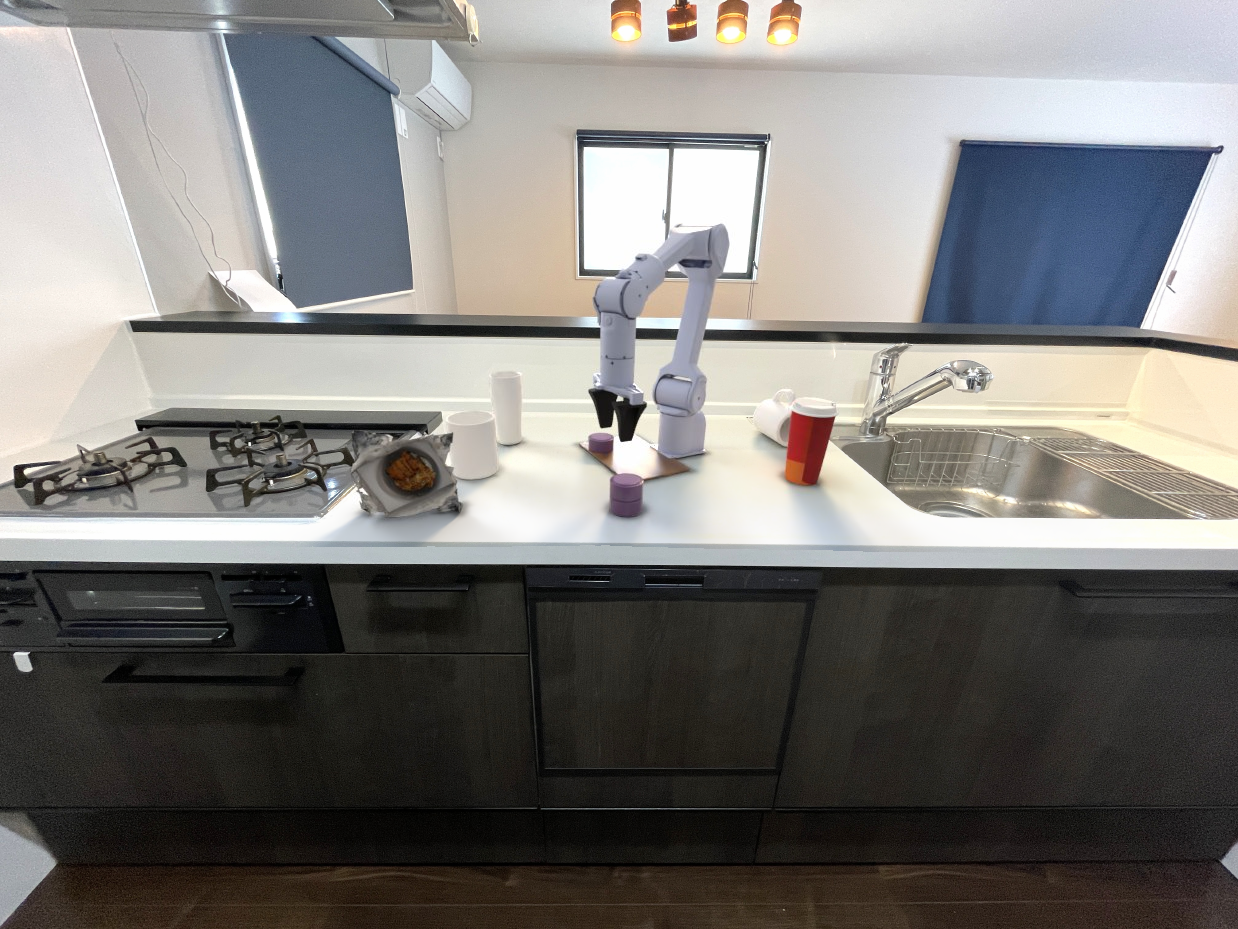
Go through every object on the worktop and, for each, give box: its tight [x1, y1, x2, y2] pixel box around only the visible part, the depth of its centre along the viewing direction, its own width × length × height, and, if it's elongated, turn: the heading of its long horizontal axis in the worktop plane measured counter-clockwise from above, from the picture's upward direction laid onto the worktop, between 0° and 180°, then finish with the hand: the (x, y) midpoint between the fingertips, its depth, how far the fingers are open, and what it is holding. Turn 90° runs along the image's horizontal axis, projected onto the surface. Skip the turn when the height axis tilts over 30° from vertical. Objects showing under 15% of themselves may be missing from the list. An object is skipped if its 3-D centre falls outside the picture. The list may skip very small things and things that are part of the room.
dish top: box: [587, 432, 615, 453], centre depth 104 cm, size 5×5×3 cm
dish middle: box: [609, 473, 644, 502], centre depth 79 cm, size 5×5×3 cm
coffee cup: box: [784, 396, 839, 486], centre depth 91 cm, size 8×8×15 cm
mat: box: [578, 433, 692, 482], centre depth 102 cm, size 14×22×1 cm, turn 28°
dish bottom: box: [608, 495, 644, 518], centre depth 81 cm, size 5×5×3 cm
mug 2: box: [752, 388, 797, 447], centre depth 111 cm, size 8×10×12 cm
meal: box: [349, 429, 464, 519], centre depth 76 cm, size 15×4×13 cm, turn 98°
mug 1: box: [444, 409, 500, 481], centre depth 93 cm, size 9×12×11 cm
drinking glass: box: [488, 370, 524, 446], centre depth 105 cm, size 7×7×15 cm
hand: (615, 433), depth 86 cm, fingers open, 7 cm apart
